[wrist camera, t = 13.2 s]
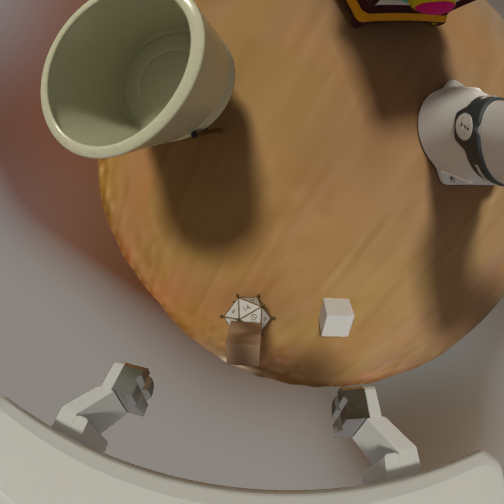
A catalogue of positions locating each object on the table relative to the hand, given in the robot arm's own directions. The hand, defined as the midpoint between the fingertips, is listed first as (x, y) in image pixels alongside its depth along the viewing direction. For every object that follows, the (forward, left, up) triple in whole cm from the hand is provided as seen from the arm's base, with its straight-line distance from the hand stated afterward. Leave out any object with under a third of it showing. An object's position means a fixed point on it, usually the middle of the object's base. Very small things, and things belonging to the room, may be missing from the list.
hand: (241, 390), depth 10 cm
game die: (+2, +22, -34) cm, 40 cm away
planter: (+12, -15, -34) cm, 39 cm away
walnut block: (+2, +22, -26) cm, 34 cm away
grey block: (-14, +22, -34) cm, 43 cm away
